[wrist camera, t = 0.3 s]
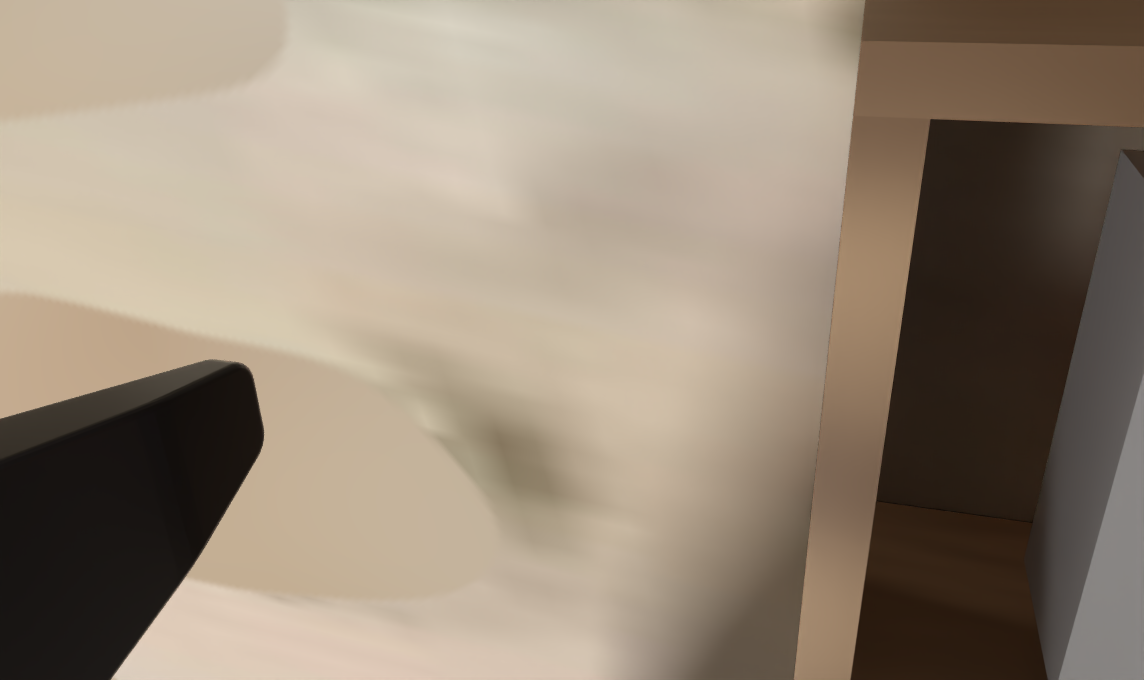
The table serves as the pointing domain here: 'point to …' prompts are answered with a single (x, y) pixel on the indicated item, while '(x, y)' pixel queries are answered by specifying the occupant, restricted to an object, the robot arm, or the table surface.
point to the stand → (873, 321)
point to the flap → (1098, 467)
